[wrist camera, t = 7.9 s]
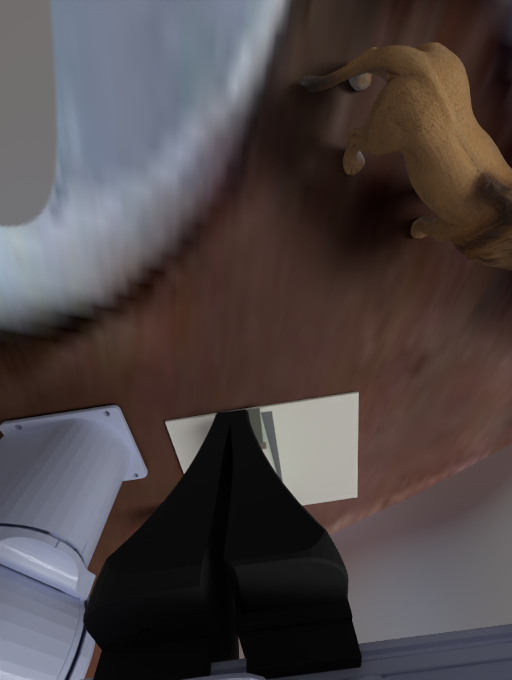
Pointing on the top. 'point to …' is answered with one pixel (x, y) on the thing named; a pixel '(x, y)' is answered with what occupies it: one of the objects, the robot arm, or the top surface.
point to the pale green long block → (261, 433)
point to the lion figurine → (433, 146)
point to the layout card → (296, 444)
